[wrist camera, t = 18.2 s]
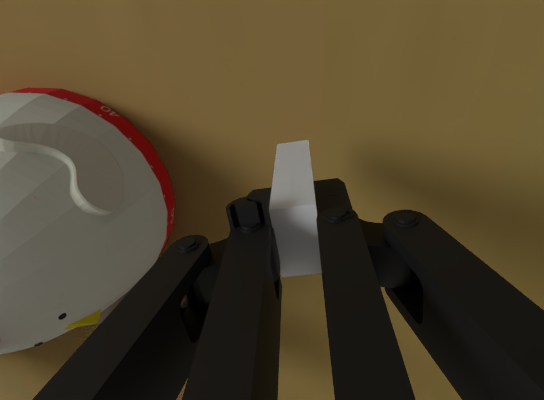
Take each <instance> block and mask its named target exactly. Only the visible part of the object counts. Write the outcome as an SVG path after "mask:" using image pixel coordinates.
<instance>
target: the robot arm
mask: <svg viewBox="0 0 544 400" xmlns="http://www.w3.org/2000/svg"><path fill="white" fill-rule="evenodd" d="M226 212H227V216H228V220H229V224H230V228H231V231H230V235H229V237H228V238H226V239H224V240H222V241H219V242H215V243H212V244H209V243H208V239H207V238H206V237H204V236H201V235H190V236H187V237H183V238H181V239H180V240H178V241H176V242H174V243H173V244H172V245H171V246H170V247H169V248H168V249H167V250H166V251H165V253H164V254H163V255H162V256H161V257H160V258H159V259H158V260H157V261H156V263H155V264H154V265H153V266H152V267H151V268H150V269H149V270H148V271H147V273H146V274H145V275H144V276H143V277H142V278H141V279H140V280H139V282H138V283H137V284H136V285H135V286H134V287H133V288H132V289H131V290H130V292H129V293H128V294H127V295H126V296H125V297H124V298H123V299H122V300H121V302H120V303H119V304H118V305H117V306H116V307H115V308H114V309H113V310H112V312H111V313H110V314H109V315H108V316H107V317H106V318H105V319H104V321H103V322H102V323H101V324H100V325H99V326H98V327H97V328H96V329H95V331H94V332H93V333H92V334H91V335H90V336H89V337H88V338H87V339H86V341H85V342H84V343H83V344H82V345H81V346H80V347H79V348H78V349H77V351H76V352H75V353H74V354H73V355H72V356H71V357H70V358H69V360H68V361H67V362H66V363H65V364H64V365H63V366H62V367H61V368H60V370H59V371H58V372H57V373H56V374H55V375H54V376H53V377H52V378H51V380H50V381H49V382H48V383H47V384H46V385H45V386H44V387H43V388H42V390H41V391H40V392H39V393H38V394H37V395H36V396H35V397H34V399H33V400H176V399H177V397H178V395H179V393H180V391H181V390H182V388H183V386H184V384H185V382H186V380H187V378H188V380H187V384H186V387H185V391H184V394H183V397H182V400H277V398H278V373H279V348H280V322H281V297H282V285H281V280H280V270H281V275H282V277H290V276H300V275H310V274H321V273H322V280H323V289H324V299H325V308H326V318H327V328H328V337H329V347H330V356H331V366H332V375H333V385H334V394H335V400H415V397H414V393H413V390H412V387H411V384H410V381H409V378H408V374H407V371H406V368H405V365H404V362H403V358H402V355H401V352H400V349H399V346H398V343H397V339H396V336H395V333H394V330H393V327H392V323H391V320H390V317H389V314H388V311H387V307H386V304H385V301H384V298H383V295H382V292H381V288H380V287H385V291H386V293H387V295H388V296H389V298H390V299H391V301H392V302H393V303H394V305H395V306H396V308H397V309H398V310H399V312H400V313H401V315H402V316H403V317H404V319H405V320H406V322H407V323H408V324H409V326H410V327H411V329H412V330H413V331H414V333H415V334H416V336H417V337H418V338H419V340H420V341H421V343H422V344H423V345H424V347H425V348H426V350H427V351H428V352H429V354H430V355H431V357H432V358H433V359H434V361H435V362H436V364H437V365H438V366H439V368H440V369H441V371H442V372H443V373H444V375H445V376H446V378H447V379H448V380H449V382H450V383H451V385H452V386H453V387H454V389H455V390H456V392H457V393H458V394H459V396H460V397H461V399H462V400H544V310H542V309H541V308H540V307H539V306H537V305H536V304H535V303H534V302H532V301H531V300H530V299H529V298H527V297H526V296H525V295H524V294H523V293H521V292H520V291H519V290H518V289H516V288H515V287H514V286H513V285H511V284H510V283H509V282H508V281H506V280H505V279H504V278H503V277H501V276H500V275H499V274H498V273H497V272H495V271H494V270H493V269H492V268H490V267H489V266H488V265H487V264H485V263H484V262H483V261H482V260H480V259H479V258H478V257H477V256H475V255H474V254H473V253H472V252H471V251H469V250H468V249H467V248H466V247H464V246H463V245H462V244H461V243H459V242H458V241H457V240H456V239H454V238H453V237H452V236H451V235H449V234H448V233H447V232H446V231H445V230H443V229H442V228H441V227H440V226H438V225H437V224H436V223H435V222H433V221H432V220H431V219H430V218H428V217H427V216H426V215H424V214H422V213H420V212H416V211H412V210H399V211H394V212H391V213H389V214H387V215H386V216H385V217H384V218H383V223H373V222H367V221H363V220H361V219H359V218H358V215H357V214H356V212H355V211H354V210H353V209H352V206H351V203H350V200H349V196H348V193H347V190H346V186H345V183H344V182H343V181H341V180H340V179H338V178H335V179H327V180H319V181H313V173H312V165H311V157H310V149H309V141H308V140H303V141H296V142H289V143H282V144H277V150H276V158H275V166H274V174H273V181H272V188H264V189H257V190H253V191H252V192H250V193H249V194H248V195H247V197H243V198H239V199H237V200H234V201H232V202H231V203H229V204H228V205H227V207H226ZM183 298H184V300H185V301H184V302H183V304H182V305H181V302H182V300H183Z"/></svg>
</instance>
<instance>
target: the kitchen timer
mask: <svg viewBox="0 0 544 400" xmlns="http://www.w3.org/2000/svg"><path fill="white" fill-rule="evenodd" d="M174 209H175V198H174V194H173V191H172V187H171V183H170V179H169V175H168V172H167V170H166V168H165V167H164V165H163V163H162V162H161V160H160V158H159V156H158V155H157V153H156V151H155V150H154V148H153V146H152V144H151V143H150V142H149V141H148V140H147V139H146V138H145V137H144V136H143V135H142V134H141V133H140V132H139V131H138V130H137V129H136V128H135V127H134V126H133V125H132V124H131V123H130V122H129V121H128V120H127V119H126V118H124V117H123V116H121V115H119V114H118V113H116V112H115V111H113V110H111V109H110V108H108V107H107V106H105V105H103V104H102V103H100V102H99V101H97V100H95V99H92V98H89V97H85V96H82V95H79V94H76V93H73V92H70V91H67V90H64V89H51V88H25V89H21V90H17V91H13V92H9V93H5V94H2V95H0V354H6V353H11V352H16V351H20V350H24V349H27V348H30V347H33V346H38V345H41V344H42V343H44V342H47V341H49V340H52V339H54V338H56V337H58V336H60V335H62V334H64V333H66V332H68V331H70V330H72V329H74V328H76V327H81V326H86V325H91V324H95V323H97V322H98V321H99V317H100V313H101V312H102V311H104V310H105V309H106V308H108V307H109V306H110V305H112V304H113V303H114V302H116V301H117V300H118V299H119V298H121V297H122V296H123V295H124V294H126V293H127V292H128V291H129V290H130V289H131V288H132V287H133V286H134V285H135V284H136V283H137V282H138V281H139V280H140V279H141V278H142V277H143V276H144V275H145V273H146V272H147V271H148V270H149V269H150V268H151V267H152V266H153V265H154V264H155V262H156V261H157V259H158V258H159V256H160V254H161V252H162V251H163V249H164V247H165V245H166V242H167V240H168V238H169V235H170V233H171V230H172V228H173V226H174Z"/></svg>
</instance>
